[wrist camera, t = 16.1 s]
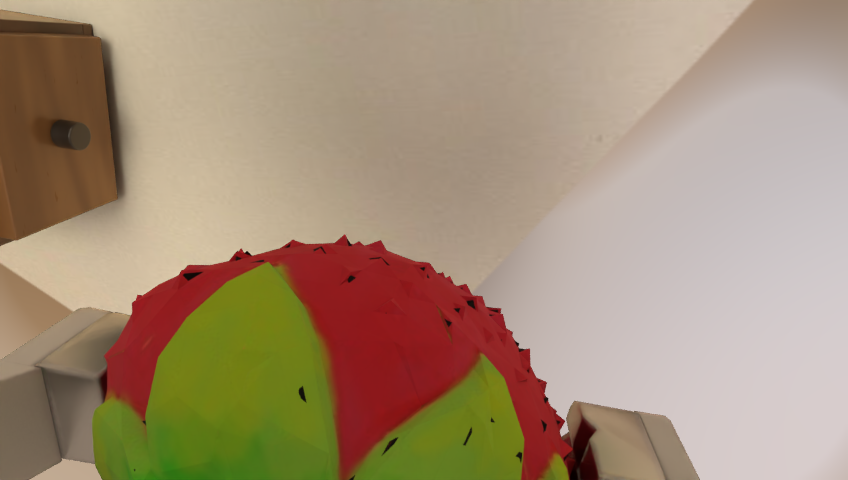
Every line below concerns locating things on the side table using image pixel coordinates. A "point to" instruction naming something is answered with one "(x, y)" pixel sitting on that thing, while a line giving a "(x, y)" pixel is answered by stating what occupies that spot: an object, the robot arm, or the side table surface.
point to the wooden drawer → (52, 131)
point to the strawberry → (322, 376)
